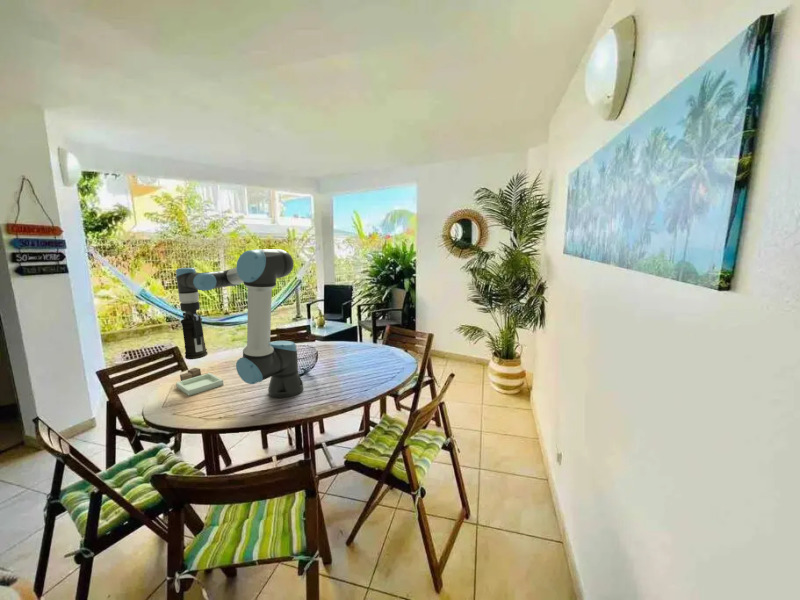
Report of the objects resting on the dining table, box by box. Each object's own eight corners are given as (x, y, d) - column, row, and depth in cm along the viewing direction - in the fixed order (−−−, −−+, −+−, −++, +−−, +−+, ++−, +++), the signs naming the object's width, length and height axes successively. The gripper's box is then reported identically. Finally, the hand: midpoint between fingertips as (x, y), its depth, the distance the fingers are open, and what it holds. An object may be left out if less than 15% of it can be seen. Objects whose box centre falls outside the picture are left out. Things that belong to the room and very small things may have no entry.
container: (211, 353, 161) (206, 316, 158) (198, 359, 152) (193, 321, 149) (194, 352, 162) (189, 316, 159) (180, 359, 153) (174, 321, 150)
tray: (223, 384, 161) (223, 379, 160) (188, 396, 149) (188, 390, 149) (210, 377, 170) (209, 372, 170) (176, 387, 159) (176, 382, 158)
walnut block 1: (192, 381, 165) (192, 374, 165) (183, 384, 162) (182, 376, 162) (189, 379, 168) (188, 372, 167) (180, 382, 165) (179, 374, 164)
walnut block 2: (201, 376, 172) (200, 368, 172) (193, 379, 169) (192, 371, 168) (195, 375, 174) (195, 367, 173) (188, 377, 170) (187, 370, 170)
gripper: (207, 302, 149) (213, 351, 153) (189, 298, 162) (195, 343, 166) (189, 305, 143) (195, 356, 147) (172, 300, 156) (178, 347, 160)
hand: (195, 349), depth 157 cm, fingers closed on container, 8 cm apart
